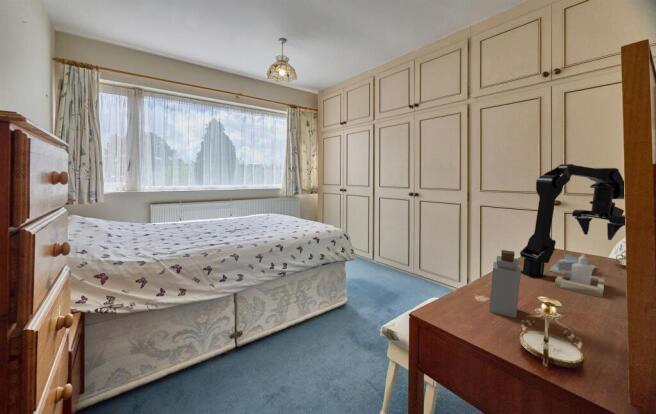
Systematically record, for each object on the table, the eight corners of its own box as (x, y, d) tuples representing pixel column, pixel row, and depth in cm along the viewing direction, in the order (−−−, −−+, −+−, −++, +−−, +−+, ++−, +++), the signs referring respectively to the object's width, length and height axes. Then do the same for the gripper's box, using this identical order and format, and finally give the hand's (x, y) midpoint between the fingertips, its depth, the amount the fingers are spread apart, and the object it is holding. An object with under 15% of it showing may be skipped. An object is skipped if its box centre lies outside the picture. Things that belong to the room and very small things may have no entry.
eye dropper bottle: (574, 281, 109) (578, 251, 107) (592, 287, 104) (596, 255, 102) (566, 283, 108) (570, 252, 106) (584, 289, 102) (589, 256, 101)
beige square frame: (602, 297, 96) (603, 290, 95) (554, 286, 105) (555, 279, 104) (603, 284, 107) (604, 278, 106) (560, 275, 116) (561, 269, 115)
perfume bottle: (515, 308, 88) (521, 251, 86) (516, 318, 82) (522, 256, 80) (489, 302, 91) (494, 247, 89) (489, 311, 86) (494, 253, 83)
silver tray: (549, 270, 121) (550, 261, 120) (560, 260, 134) (561, 252, 133) (587, 279, 112) (588, 269, 111) (594, 267, 125) (596, 258, 125)
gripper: (647, 201, 108) (641, 242, 110) (595, 196, 127) (590, 231, 129) (622, 202, 107) (616, 243, 109) (573, 197, 125) (568, 232, 127)
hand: (597, 237), depth 118 cm, fingers open, 9 cm apart
